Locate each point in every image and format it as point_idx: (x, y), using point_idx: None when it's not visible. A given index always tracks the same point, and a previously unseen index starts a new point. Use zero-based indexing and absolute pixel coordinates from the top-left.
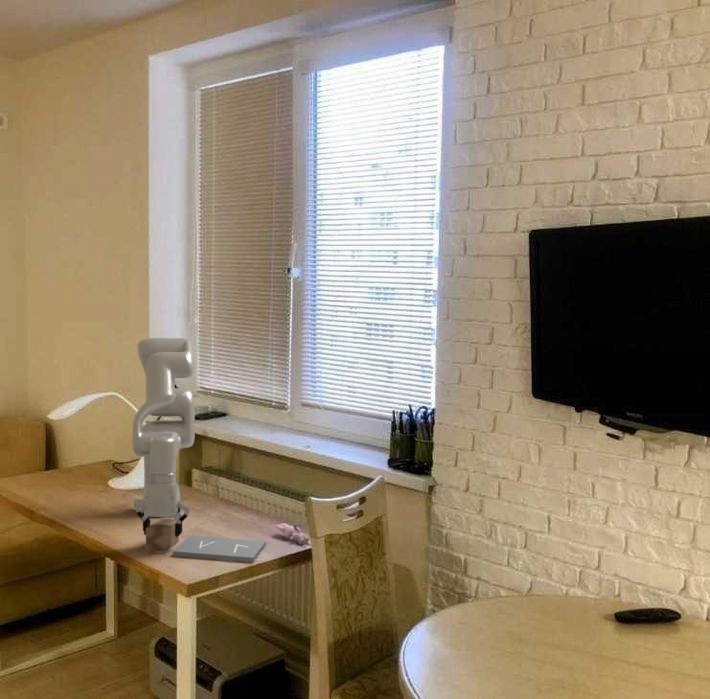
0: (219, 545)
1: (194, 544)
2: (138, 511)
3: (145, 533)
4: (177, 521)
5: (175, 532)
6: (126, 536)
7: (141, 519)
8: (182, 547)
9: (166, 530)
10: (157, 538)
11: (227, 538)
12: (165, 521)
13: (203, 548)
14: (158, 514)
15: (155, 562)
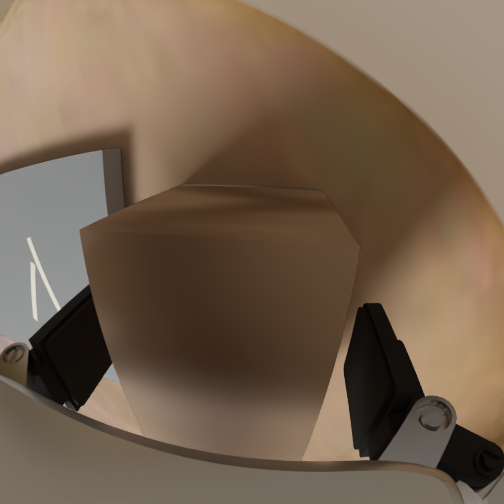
0: (6, 279)
1: (64, 281)
2: (494, 481)
3: (368, 306)
4: (24, 364)
5: (86, 303)
6: (456, 372)
7: (451, 411)
8: (84, 226)
9: (95, 264)
10: (205, 205)
11: (31, 348)
12: (222, 447)
13: (19, 236)
14: (112, 476)
15: (178, 29)
